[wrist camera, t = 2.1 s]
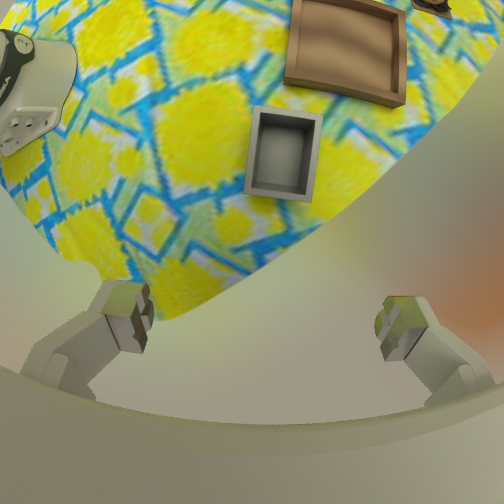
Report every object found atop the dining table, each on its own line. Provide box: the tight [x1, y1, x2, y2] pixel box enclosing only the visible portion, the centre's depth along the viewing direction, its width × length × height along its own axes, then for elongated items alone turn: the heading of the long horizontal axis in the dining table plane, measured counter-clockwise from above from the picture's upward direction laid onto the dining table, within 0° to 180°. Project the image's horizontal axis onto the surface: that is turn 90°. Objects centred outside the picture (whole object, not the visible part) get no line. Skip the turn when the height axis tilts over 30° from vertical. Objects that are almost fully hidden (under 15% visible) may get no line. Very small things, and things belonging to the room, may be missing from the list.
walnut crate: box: [283, 0, 407, 109], centre depth 25 cm, size 14×14×4 cm
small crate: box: [243, 105, 323, 203], centre depth 28 cm, size 8×6×9 cm
